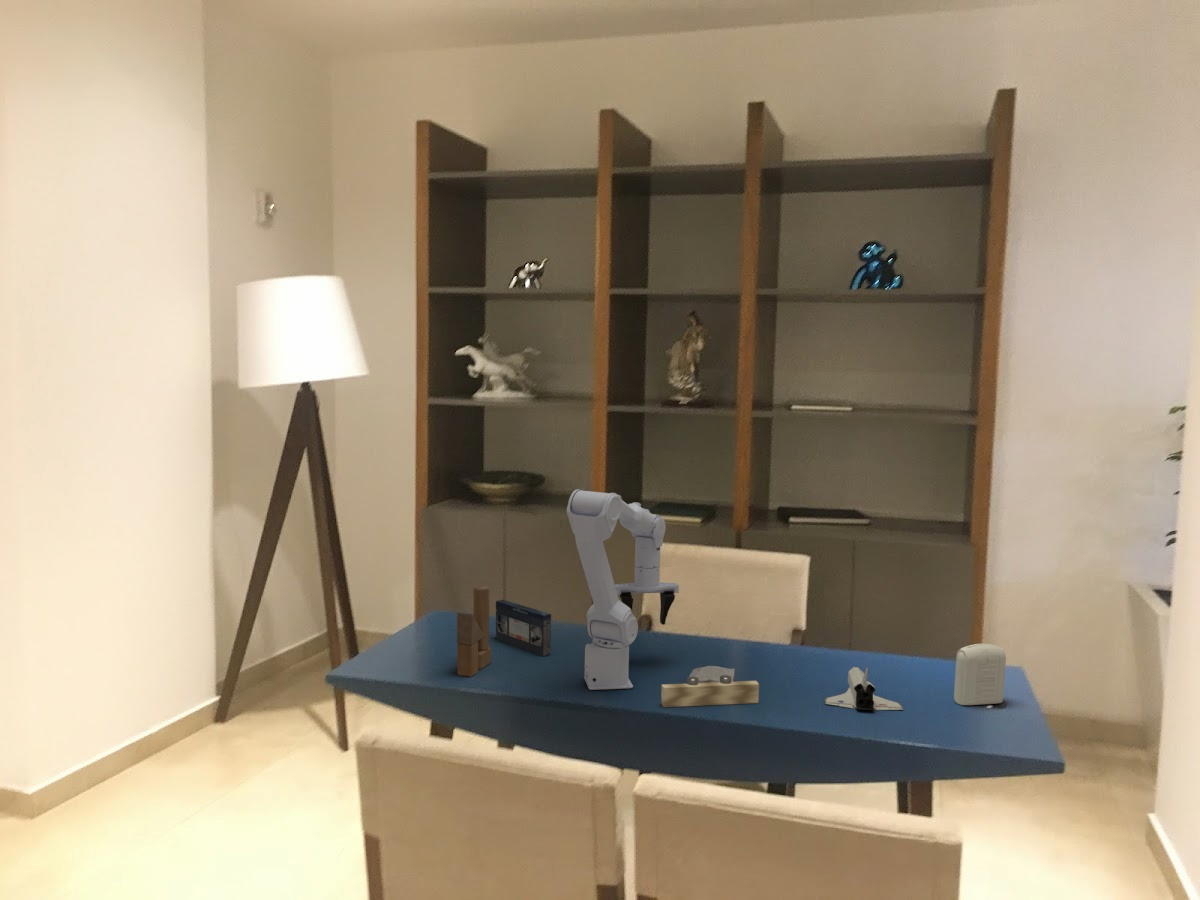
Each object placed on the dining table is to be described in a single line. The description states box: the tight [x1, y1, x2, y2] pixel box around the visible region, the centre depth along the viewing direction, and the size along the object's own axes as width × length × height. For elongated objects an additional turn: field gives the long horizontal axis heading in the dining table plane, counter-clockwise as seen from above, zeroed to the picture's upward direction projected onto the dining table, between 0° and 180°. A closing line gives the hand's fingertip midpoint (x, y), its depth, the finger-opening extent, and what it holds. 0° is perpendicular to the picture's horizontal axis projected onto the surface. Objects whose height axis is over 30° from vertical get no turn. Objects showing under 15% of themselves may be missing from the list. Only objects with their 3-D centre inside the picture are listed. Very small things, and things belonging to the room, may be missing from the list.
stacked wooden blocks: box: [456, 585, 492, 677], centre depth 211 cm, size 4×11×18 cm, turn 163°
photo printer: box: [953, 643, 1007, 706], centre depth 196 cm, size 10×4×12 cm, turn 103°
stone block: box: [688, 665, 736, 683], centre depth 202 cm, size 12×5×10 cm
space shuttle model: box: [824, 666, 904, 711], centre depth 201 cm, size 16×25×10 cm, turn 171°
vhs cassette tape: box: [495, 599, 552, 657], centre depth 229 cm, size 18×3×10 cm, turn 43°
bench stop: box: [660, 675, 760, 708], centre depth 194 cm, size 20×3×5 cm, turn 99°
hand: (646, 624), depth 217 cm, fingers open, 7 cm apart
